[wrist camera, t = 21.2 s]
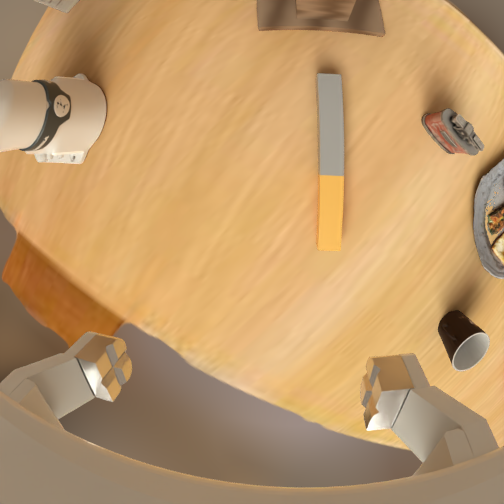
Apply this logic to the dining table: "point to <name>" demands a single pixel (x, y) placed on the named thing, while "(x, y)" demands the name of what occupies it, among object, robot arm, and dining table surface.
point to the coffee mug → (463, 340)
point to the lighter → (452, 132)
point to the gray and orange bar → (330, 161)
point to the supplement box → (59, 4)
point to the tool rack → (321, 16)
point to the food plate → (490, 220)
